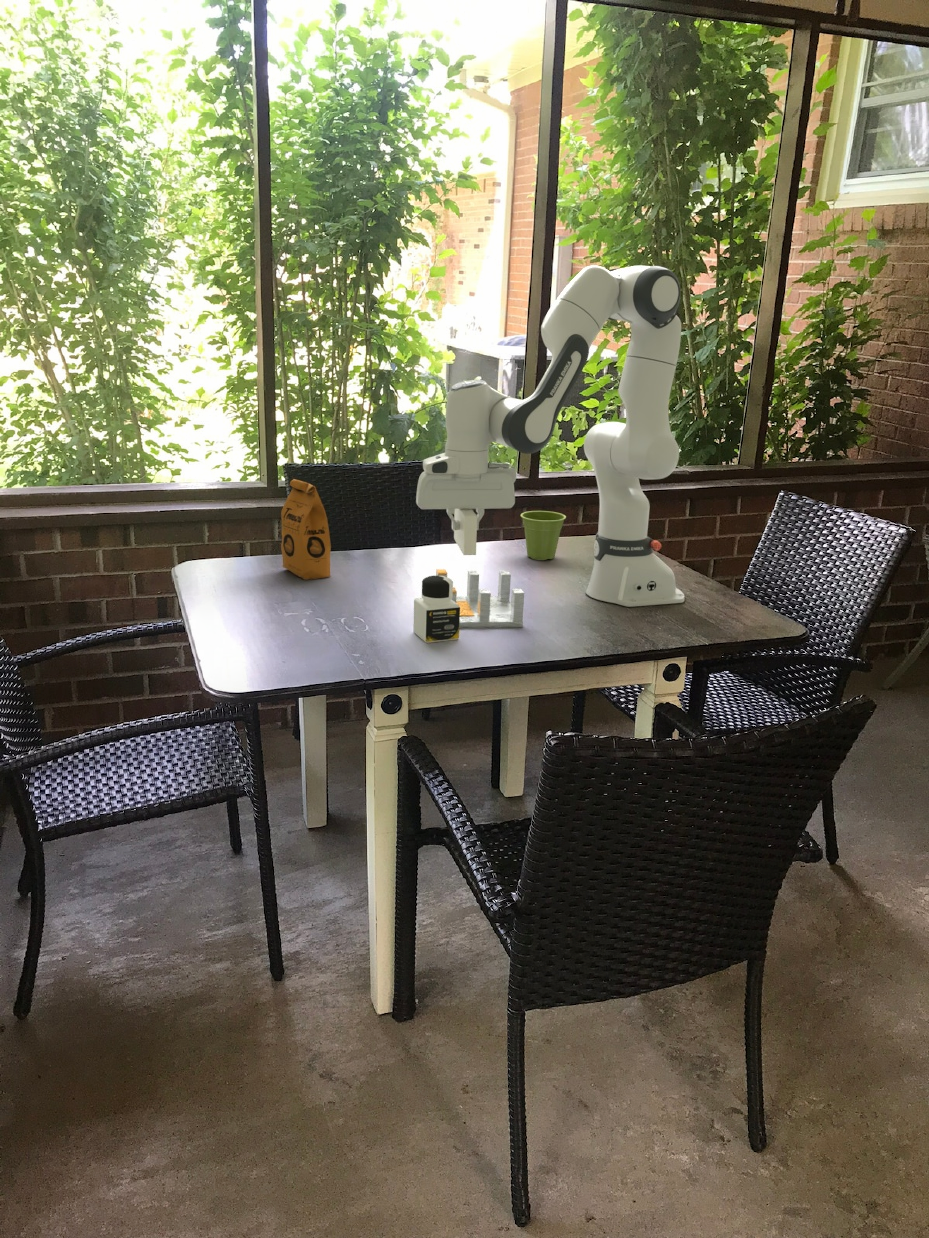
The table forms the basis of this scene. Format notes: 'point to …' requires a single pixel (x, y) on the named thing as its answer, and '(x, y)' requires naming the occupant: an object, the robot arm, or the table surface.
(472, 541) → the panel
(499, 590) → the panel rack
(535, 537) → the plant pot
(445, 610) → the medicine bottle
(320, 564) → the coffee package
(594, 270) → the robot arm
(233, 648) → the table surface
